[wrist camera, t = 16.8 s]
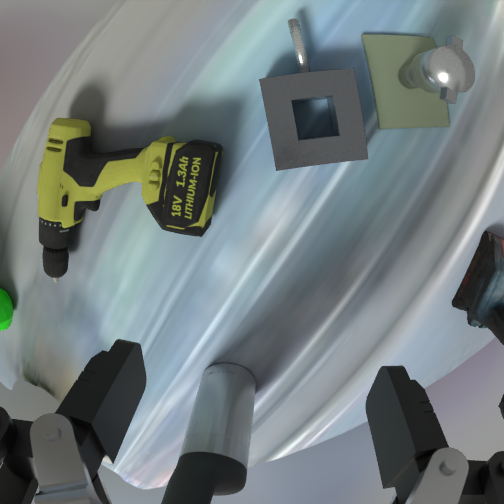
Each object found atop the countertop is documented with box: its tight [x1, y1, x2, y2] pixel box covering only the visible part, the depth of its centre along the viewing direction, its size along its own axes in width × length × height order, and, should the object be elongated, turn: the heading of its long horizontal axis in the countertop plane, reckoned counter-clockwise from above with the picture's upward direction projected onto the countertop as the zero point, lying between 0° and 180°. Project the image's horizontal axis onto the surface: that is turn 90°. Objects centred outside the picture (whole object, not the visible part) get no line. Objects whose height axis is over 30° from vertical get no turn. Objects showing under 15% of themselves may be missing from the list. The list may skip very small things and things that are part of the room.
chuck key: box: [398, 35, 475, 104], centre depth 24 cm, size 5×7×11 cm
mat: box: [361, 35, 450, 129], centre depth 29 cm, size 12×10×1 cm
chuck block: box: [259, 19, 368, 171], centre depth 30 cm, size 17×10×4 cm, turn 11°
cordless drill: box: [37, 118, 224, 282], centre depth 36 cm, size 7×25×25 cm
